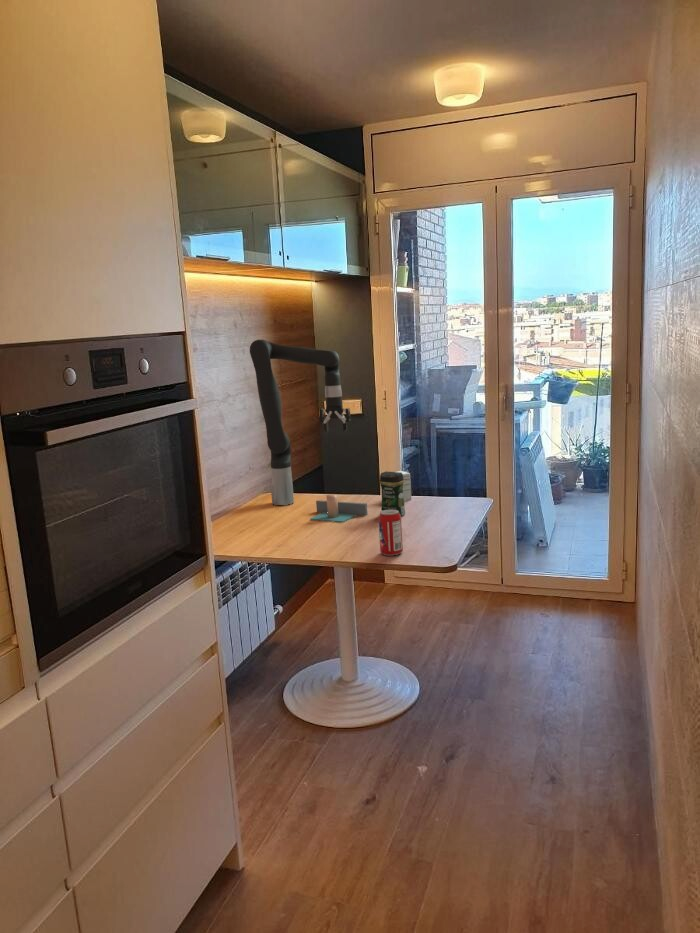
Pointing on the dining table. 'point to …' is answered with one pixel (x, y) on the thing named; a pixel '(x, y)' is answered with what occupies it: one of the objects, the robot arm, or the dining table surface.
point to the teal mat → (340, 518)
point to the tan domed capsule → (332, 506)
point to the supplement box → (406, 486)
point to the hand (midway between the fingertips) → (336, 431)
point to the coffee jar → (392, 491)
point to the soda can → (390, 532)
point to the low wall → (344, 507)
